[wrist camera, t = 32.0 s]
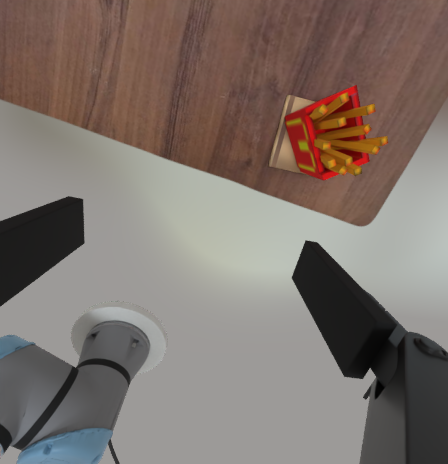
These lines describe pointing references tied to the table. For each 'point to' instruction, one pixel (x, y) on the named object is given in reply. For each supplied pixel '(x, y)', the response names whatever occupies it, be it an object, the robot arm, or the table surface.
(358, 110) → the french fries container
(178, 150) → the table surface
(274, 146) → the wooden coaster
